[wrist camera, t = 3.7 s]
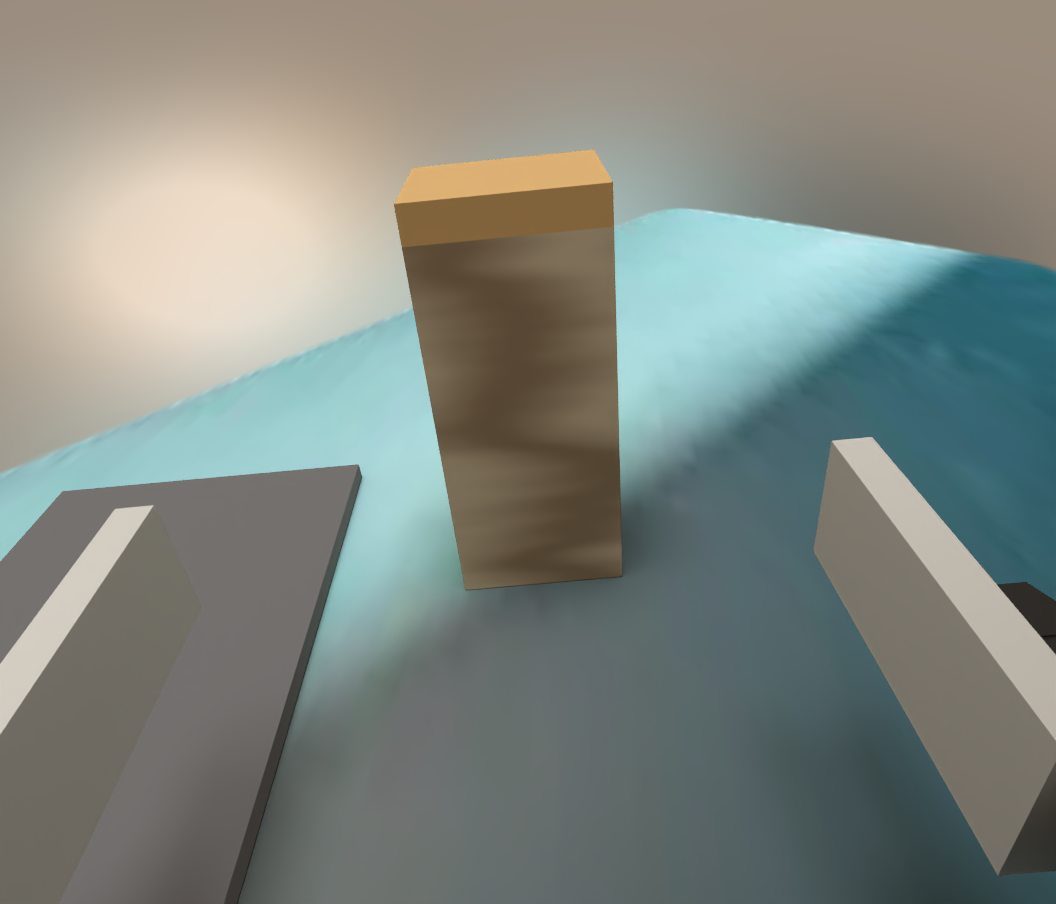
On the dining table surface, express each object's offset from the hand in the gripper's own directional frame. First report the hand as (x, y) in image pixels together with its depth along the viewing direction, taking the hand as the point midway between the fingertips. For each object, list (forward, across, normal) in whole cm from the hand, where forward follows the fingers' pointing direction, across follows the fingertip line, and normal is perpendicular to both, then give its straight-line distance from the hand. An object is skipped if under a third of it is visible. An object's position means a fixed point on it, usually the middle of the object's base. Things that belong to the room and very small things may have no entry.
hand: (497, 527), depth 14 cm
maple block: (+8, +1, -7) cm, 10 cm away
